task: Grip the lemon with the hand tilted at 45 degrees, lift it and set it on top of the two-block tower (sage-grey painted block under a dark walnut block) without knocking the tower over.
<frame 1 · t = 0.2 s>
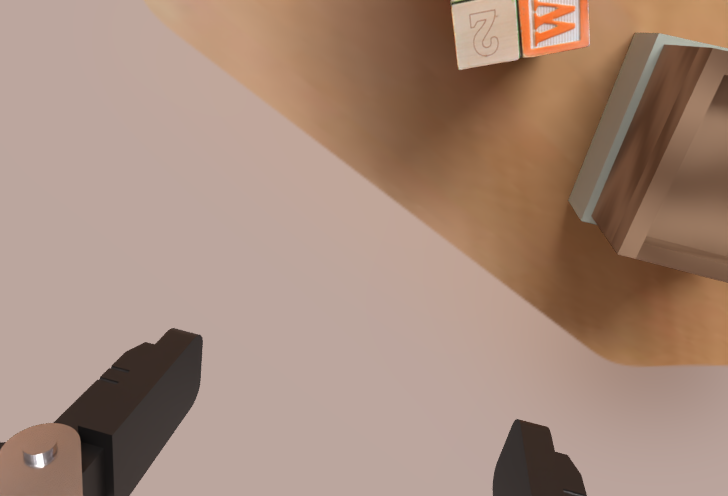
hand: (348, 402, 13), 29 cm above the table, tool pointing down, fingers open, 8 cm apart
tower top: (713, 157, 32), point 5 cm above the table, touching tower base
tower base: (682, 141, 36), on the table, touching tower top
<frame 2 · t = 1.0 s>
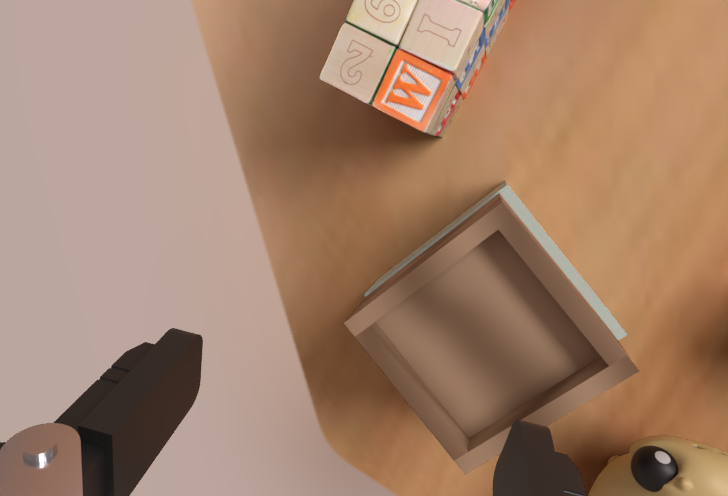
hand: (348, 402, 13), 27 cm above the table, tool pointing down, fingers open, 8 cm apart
tower top: (483, 310, 34), point 5 cm above the table
tower base: (488, 293, 39), on the table
beige rounded piece: (648, 474, 38), on the table
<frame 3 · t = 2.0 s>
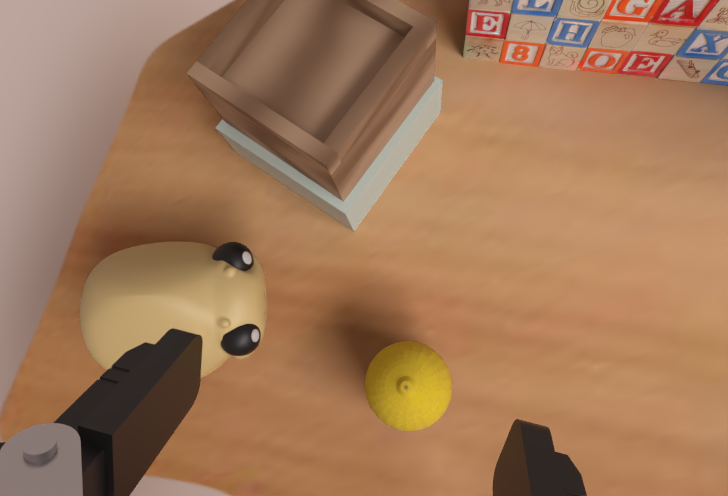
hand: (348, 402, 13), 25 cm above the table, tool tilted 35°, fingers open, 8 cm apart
tower top: (328, 101, 37), point 5 cm above the table, touching tower base
tower base: (338, 134, 42), on the table, touching tower top
lemon: (409, 383, 37), on the table
stack of blocks: (597, 41, 42), on the table
beige rounded piece: (213, 316, 40), on the table
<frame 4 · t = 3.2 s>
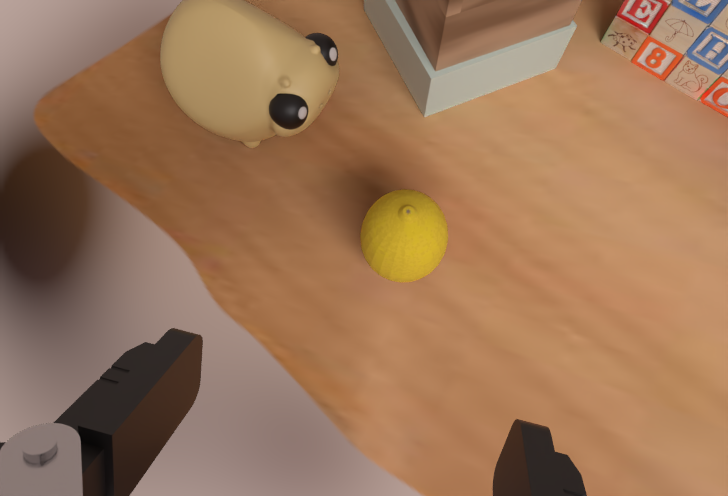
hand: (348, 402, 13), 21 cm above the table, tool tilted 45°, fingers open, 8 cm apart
tower base: (456, 41, 44), on the table, touching tower top
lemon: (399, 259, 37), on the table
beige rounded piece: (265, 117, 41), on the table
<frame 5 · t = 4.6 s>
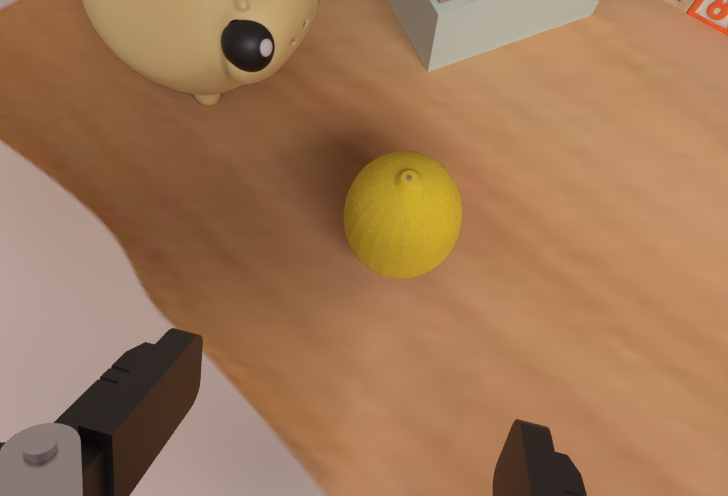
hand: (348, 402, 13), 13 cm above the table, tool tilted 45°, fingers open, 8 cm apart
lemon: (395, 249, 28), on the table
beige rounded piece: (228, 70, 32), on the table
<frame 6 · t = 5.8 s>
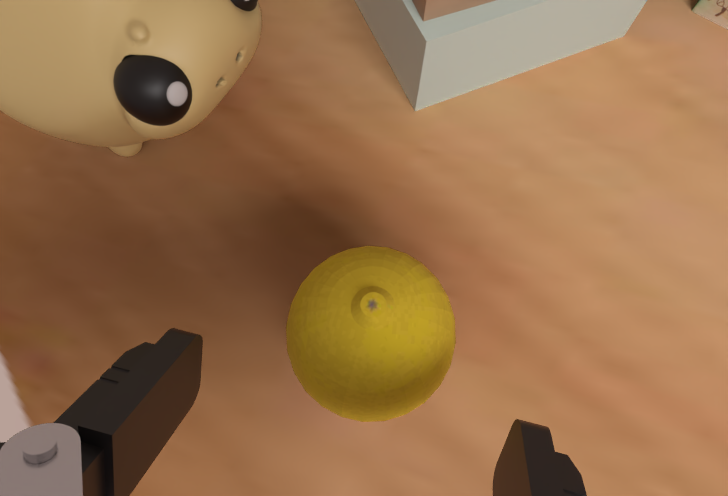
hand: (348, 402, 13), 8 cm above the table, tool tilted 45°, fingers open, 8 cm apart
lemon: (368, 354, 21), on the table
beige rounded piece: (158, 107, 25), on the table
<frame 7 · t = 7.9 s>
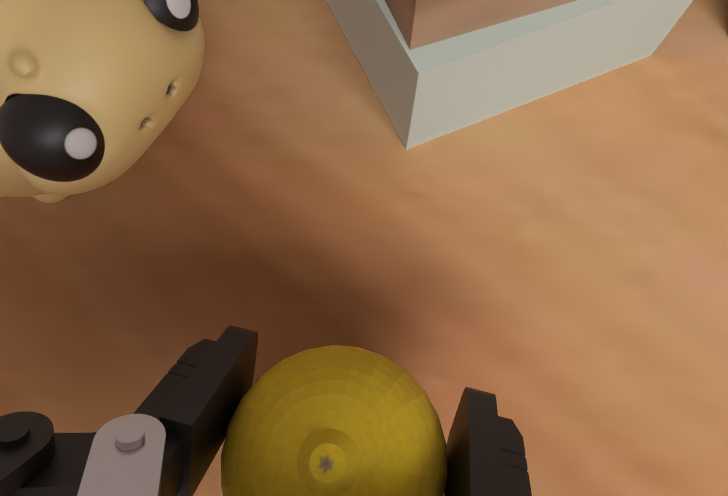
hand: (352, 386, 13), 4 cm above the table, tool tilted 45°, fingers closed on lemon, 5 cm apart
tower base: (465, 7, 24), on the table, touching tower top
lemon: (341, 453, 17), on the table, touching gripper
beige rounded piece: (95, 140, 21), on the table
when the fingers open (16 cm above the table, at t = 13.8 s): lemon moves 2 cm, resting on tower top.
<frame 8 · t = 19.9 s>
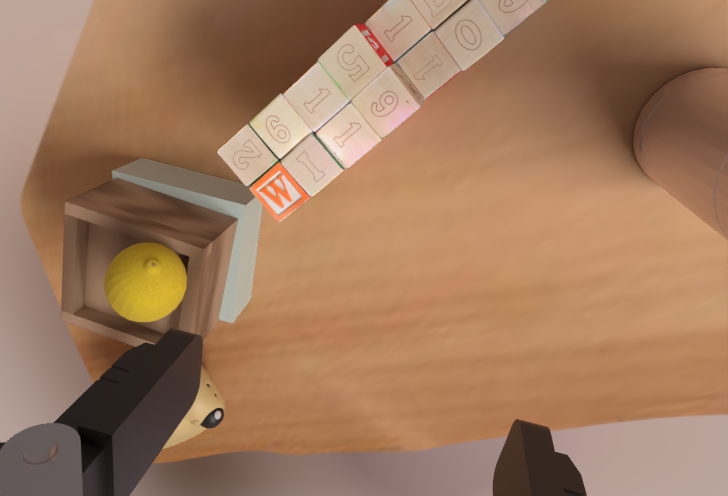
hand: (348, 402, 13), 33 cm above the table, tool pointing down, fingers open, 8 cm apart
tower top: (170, 253, 46), point 5 cm above the table, touching lemon, tower base
tower base: (200, 230, 50), on the table, touching tower top
lemon: (140, 299, 41), point 11 cm above the table, touching tower top
stack of blocks: (392, 68, 41), on the table
beige rounded piece: (194, 369, 57), on the table
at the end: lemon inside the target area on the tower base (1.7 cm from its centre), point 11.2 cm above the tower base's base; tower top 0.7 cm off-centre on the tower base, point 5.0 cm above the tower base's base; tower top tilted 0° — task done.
